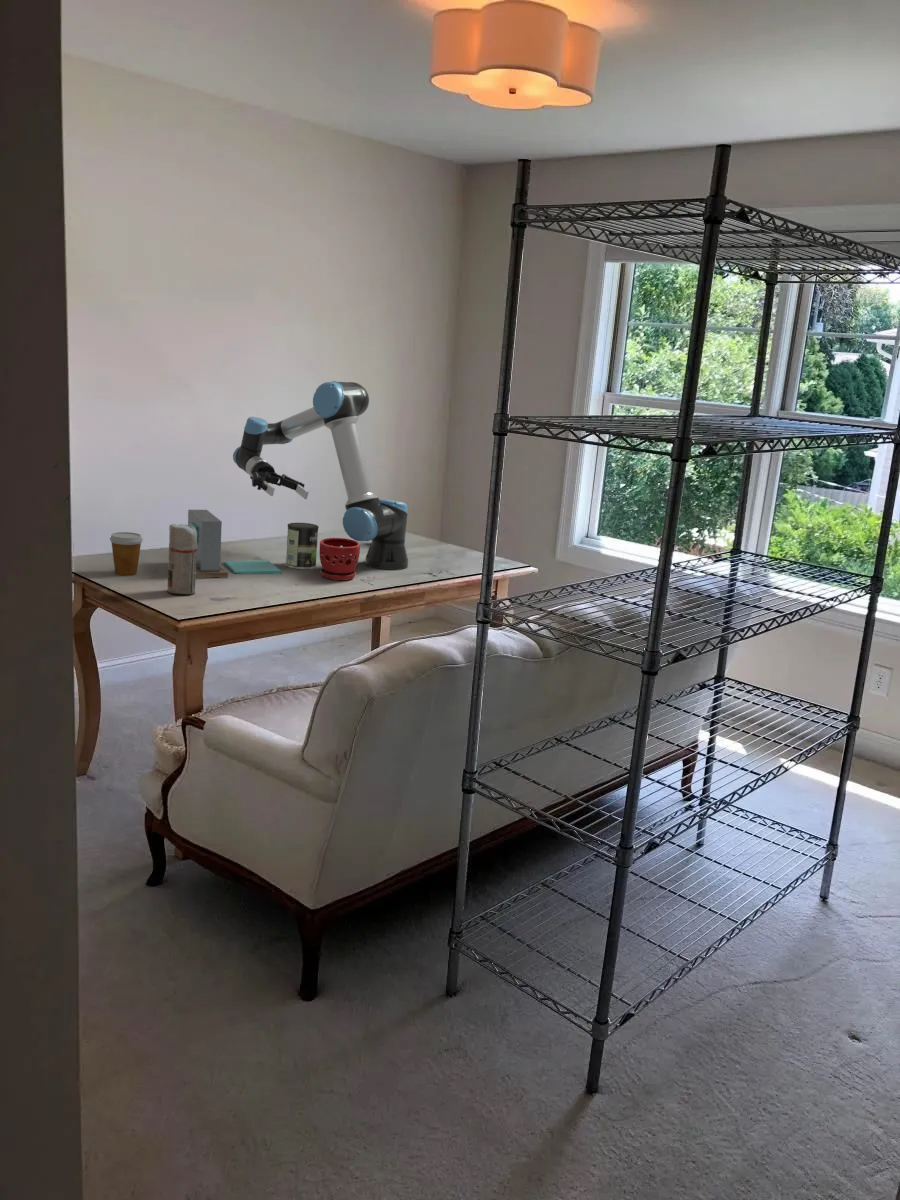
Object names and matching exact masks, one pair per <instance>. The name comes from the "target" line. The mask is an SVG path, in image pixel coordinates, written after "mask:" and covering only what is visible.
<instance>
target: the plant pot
mask: <svg viewBox="0 0 900 1200" xmlns="http://www.w3.org/2000/svg"><path fill="white" fill-rule="evenodd" d="M360 553H361V543H360V541H356V540H354V539H349V538H344V537H328V538H323V539H321V540H320V542H319V562H320V564H321V569H320V574H321V575H322V577H324V578H325V579H328V580H333V581H334V580H335V581H347V580H352V579H353V578H355V576H356V575H357V572H356V571H355V569H356V567H357V565H358V563H359V558H360Z"/></svg>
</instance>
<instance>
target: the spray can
mask: <svg viewBox="0 0 900 1200" xmlns="http://www.w3.org/2000/svg"><path fill="white" fill-rule="evenodd" d="M168 530H169V535H168V536H169V538H168V539H169V540H168V541H169V542H168V558H167V559H168V566H167V570H168V571H167V589H166V592H168V593H169V594H174V595H193V594H196V581H197V580H196V579H197V578H196V561H197V531H196V529H195V528H194V527H191V526H188V524H182V523H181V524H176V523H172V524H170V525H169V529H168Z"/></svg>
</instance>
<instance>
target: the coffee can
mask: <svg viewBox="0 0 900 1200" xmlns="http://www.w3.org/2000/svg"><path fill="white" fill-rule="evenodd" d="M318 535H319V526H318V525H317V524H314V523H309V522H290V523H288V524H287V539H286V541H287V542H286V557H285V559H286V561H285V566H286V567H287V566H288V567H287V568H290V569H294V568H295V569H296V570H313V569H316V567H317V554H318V553H317V551H318V538H319V537H318Z"/></svg>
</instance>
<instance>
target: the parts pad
mask: <svg viewBox="0 0 900 1200" xmlns="http://www.w3.org/2000/svg"><path fill="white" fill-rule="evenodd" d="M224 563H225V564H226V565H227V566H228V567H229V568H230V571H231V572H233V574H235V573H263V574H282V569H280V568H279V567H277V566H275V564H273V563H272V562H271V561H269V560H268V559H267V560H266V559H264V560H258V559H257V560H224V561H223V564H224ZM225 564H224V565H225ZM226 565H225V566H226ZM227 566H226V567H227Z"/></svg>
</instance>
